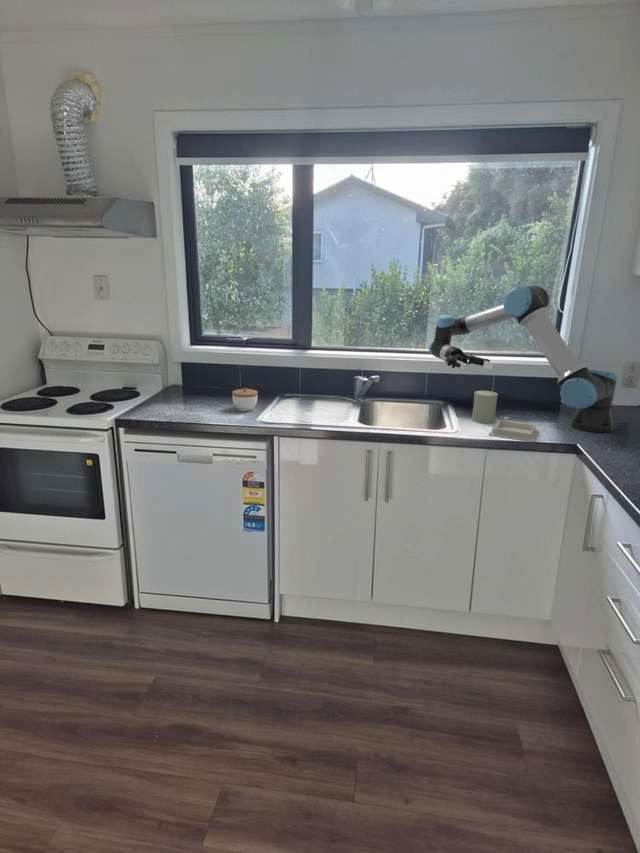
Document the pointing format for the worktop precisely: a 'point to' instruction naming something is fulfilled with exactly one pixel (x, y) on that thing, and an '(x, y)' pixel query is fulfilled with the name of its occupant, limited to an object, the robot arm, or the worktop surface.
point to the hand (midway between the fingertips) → (479, 367)
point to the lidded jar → (245, 399)
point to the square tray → (514, 430)
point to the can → (484, 406)
